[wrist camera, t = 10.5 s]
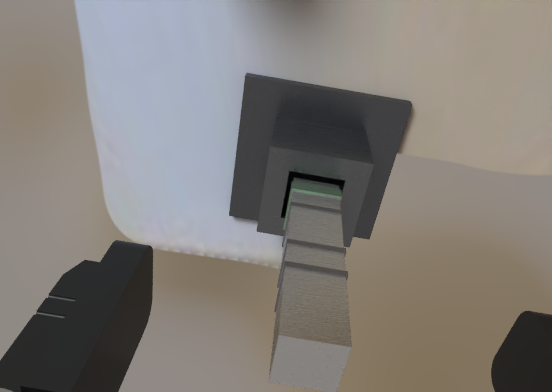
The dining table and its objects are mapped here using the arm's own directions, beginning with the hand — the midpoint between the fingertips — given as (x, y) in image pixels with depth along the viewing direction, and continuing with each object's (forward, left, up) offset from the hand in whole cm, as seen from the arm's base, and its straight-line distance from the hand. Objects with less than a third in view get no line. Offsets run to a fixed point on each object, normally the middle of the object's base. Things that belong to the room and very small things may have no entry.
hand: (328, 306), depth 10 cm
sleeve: (-2, +14, -36) cm, 39 cm away
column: (-2, +14, -28) cm, 31 cm away
